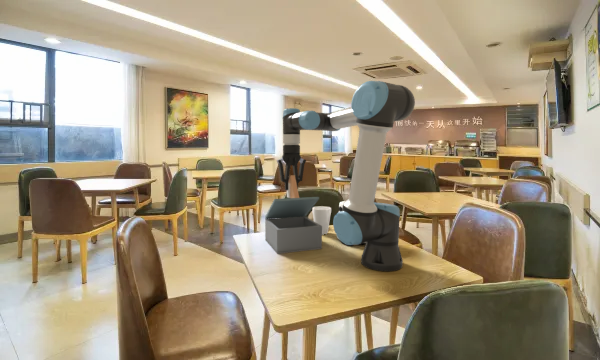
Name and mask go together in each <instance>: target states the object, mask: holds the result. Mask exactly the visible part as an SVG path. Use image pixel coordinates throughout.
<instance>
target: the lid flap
mask: <svg viewBox="0 0 600 360" xmlns="http://www.w3.org/2000/svg"><path fill="white" fill-rule="evenodd" d="M288 183H290V198H288V197H286V198H285V197H284V198H274V199H273V200H272V203H271V205H270V207H269V208H268V211H267V212H266V215H265V217H264V219H277V218H291V217H305V216H306V217H307V215H309V212H311V210H312V208H313V207H315V205H316V203H317V202H318V201H320V196H311V197H300V195H299V188H298V189H297V184H296V179H295V175H294V174H293V175H292V174H289V182H288Z"/></svg>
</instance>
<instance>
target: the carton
mask: <svg viewBox="0 0 600 360" xmlns="http://www.w3.org/2000/svg"><path fill="white" fill-rule="evenodd" d="M264 219H265V218H264ZM264 223H265V224H264V227H265V229H264V231H265V232H264V233H265V242H266V243H267V244H268V245H269V246H270V247H271V249H272V250H274V251H273V252H275V253H276V254H286V253H295V252H303V251H304V252H305V251H313V250H322V249H323V245H322V244H323V235H322V226H321V225H319V224H318V223H316V222H314V221H312V220H311V219H309V218H308V216H307V215H306V216H303V217H289V218H275V219H265V221H264Z"/></svg>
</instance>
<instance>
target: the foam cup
mask: <svg viewBox="0 0 600 360" xmlns="http://www.w3.org/2000/svg"><path fill="white" fill-rule="evenodd" d="M311 210H312V213H313V218H314V222H316V223H318V224H319V225H321V226H322V236H325V235H324V234H326V235H328V234H327V233H329V227H330V220H331V213H332V207H330V206H323V205H321V206H313V207H312V209H311Z"/></svg>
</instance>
